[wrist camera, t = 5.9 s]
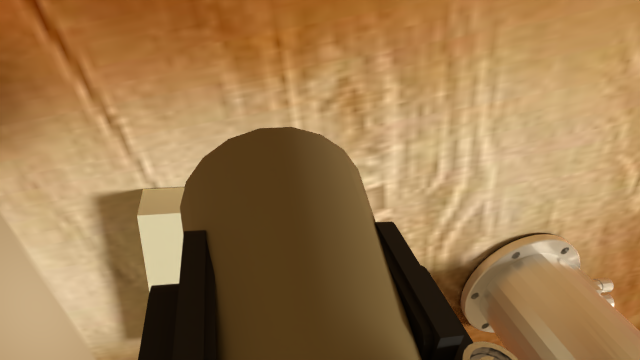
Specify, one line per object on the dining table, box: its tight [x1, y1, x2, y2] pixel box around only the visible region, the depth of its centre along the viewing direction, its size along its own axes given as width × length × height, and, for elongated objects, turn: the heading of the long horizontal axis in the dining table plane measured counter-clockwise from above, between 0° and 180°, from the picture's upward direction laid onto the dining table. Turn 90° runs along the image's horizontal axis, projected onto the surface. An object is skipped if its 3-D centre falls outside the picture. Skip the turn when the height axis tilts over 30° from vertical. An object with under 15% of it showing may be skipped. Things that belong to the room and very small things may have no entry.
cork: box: [180, 127, 421, 360], centre depth 9 cm, size 6×6×11 cm
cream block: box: [137, 187, 185, 293], centre depth 31 cm, size 14×14×3 cm
